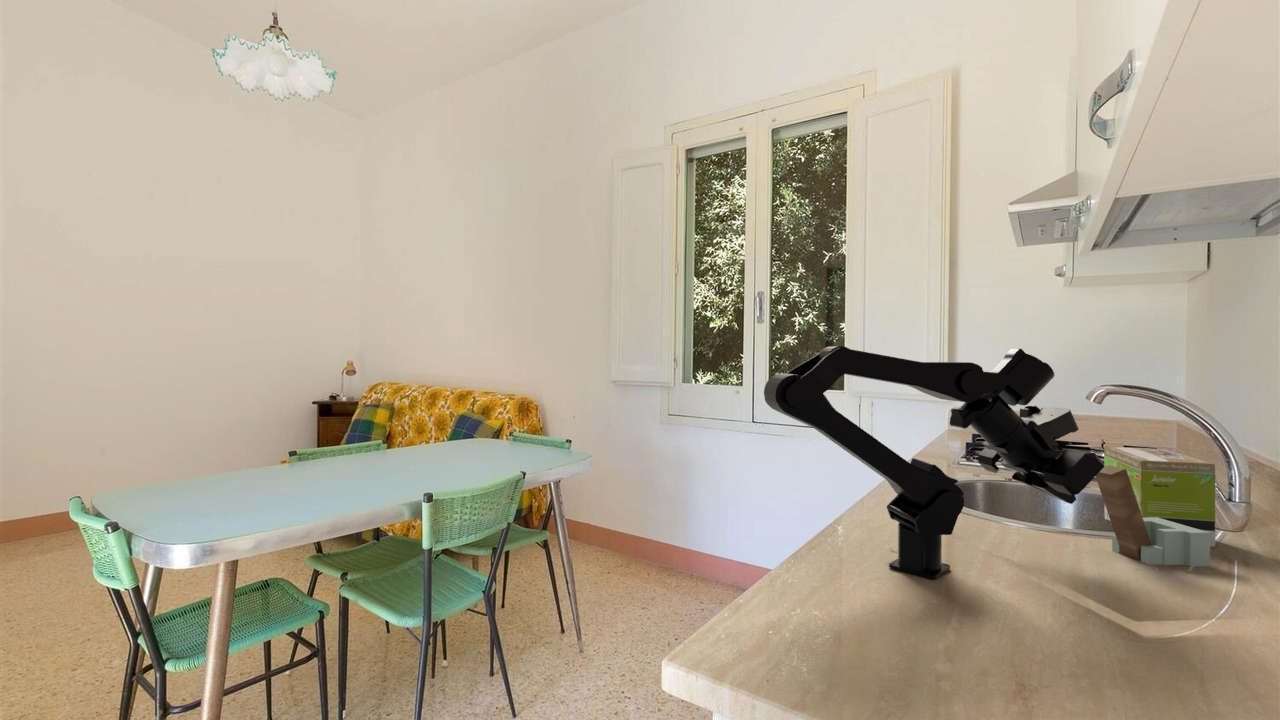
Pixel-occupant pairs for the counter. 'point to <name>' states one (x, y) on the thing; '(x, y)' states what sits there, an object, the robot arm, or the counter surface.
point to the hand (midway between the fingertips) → (1072, 501)
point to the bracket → (1173, 544)
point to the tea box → (1169, 485)
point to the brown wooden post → (1123, 510)
